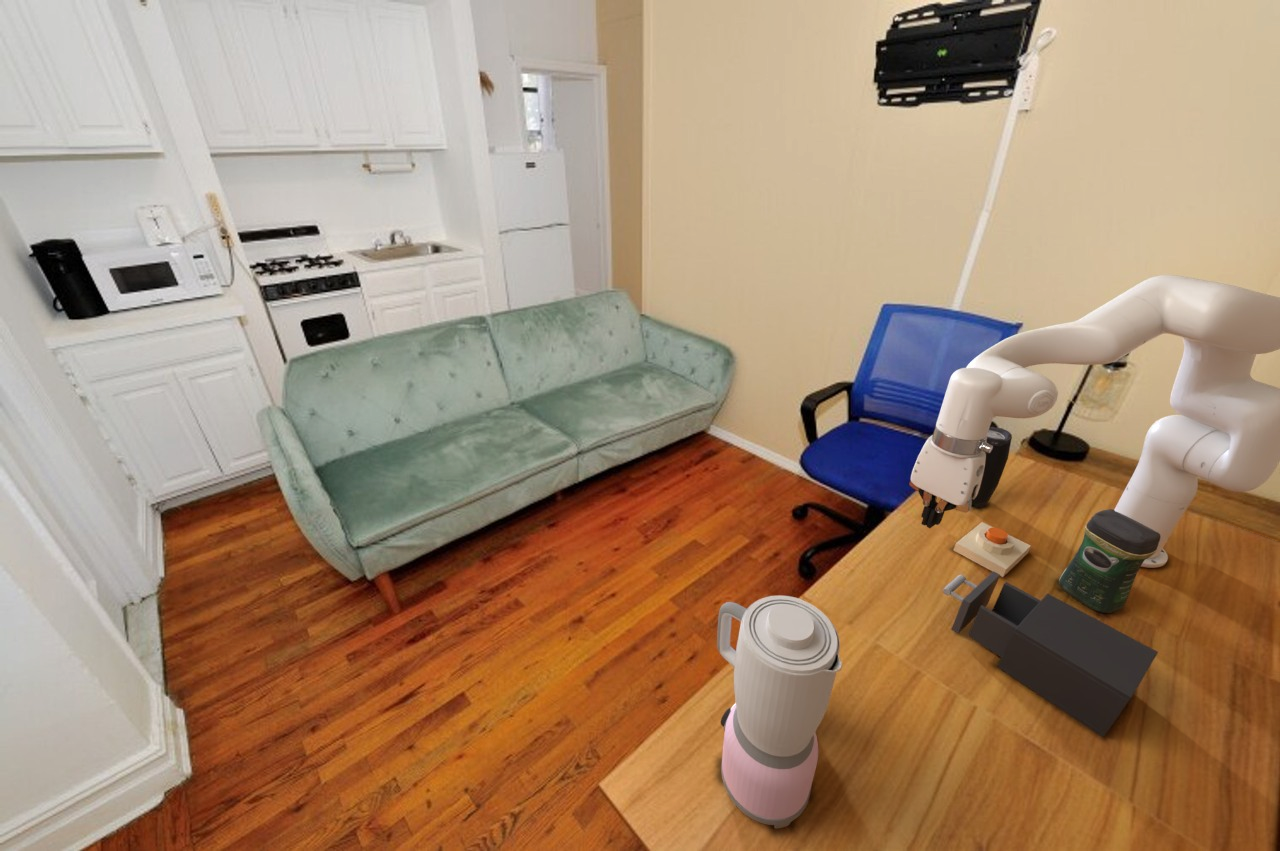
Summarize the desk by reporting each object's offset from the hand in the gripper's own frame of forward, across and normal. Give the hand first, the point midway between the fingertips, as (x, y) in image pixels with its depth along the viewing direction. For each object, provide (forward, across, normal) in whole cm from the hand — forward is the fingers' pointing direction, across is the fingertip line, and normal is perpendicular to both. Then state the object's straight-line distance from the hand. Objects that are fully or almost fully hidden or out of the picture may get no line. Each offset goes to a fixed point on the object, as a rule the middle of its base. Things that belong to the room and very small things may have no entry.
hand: (929, 523), depth 95 cm
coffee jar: (+16, -22, -25) cm, 37 cm away
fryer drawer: (+15, -15, 0) cm, 21 cm away
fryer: (+16, -26, 0) cm, 31 cm away
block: (+16, -5, -23) cm, 29 cm away
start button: (+12, -5, -23) cm, 27 cm away
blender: (+17, -6, +52) cm, 54 cm away
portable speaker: (+16, +7, -39) cm, 43 cm away
